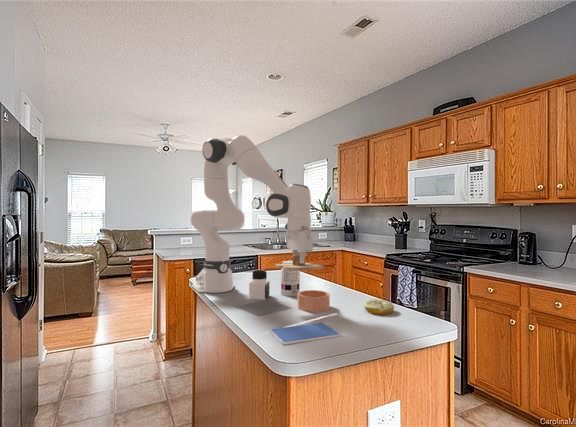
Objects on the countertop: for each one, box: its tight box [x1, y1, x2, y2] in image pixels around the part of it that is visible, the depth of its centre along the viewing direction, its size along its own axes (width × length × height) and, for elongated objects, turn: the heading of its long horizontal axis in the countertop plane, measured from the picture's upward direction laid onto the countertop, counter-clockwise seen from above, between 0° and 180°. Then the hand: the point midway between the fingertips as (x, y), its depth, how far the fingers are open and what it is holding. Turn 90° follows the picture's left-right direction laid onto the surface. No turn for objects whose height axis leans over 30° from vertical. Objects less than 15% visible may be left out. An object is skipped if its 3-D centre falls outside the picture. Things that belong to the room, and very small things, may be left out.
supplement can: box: [280, 260, 301, 297], centre depth 157 cm, size 8×8×15 cm
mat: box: [234, 299, 293, 317], centre depth 135 cm, size 16×16×1 cm
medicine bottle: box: [248, 269, 270, 301], centre depth 151 cm, size 7×7×12 cm
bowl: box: [296, 289, 331, 313], centre depth 135 cm, size 12×12×6 cm
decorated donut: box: [363, 298, 395, 316], centre depth 132 cm, size 10×11×4 cm
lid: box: [273, 254, 325, 271], centre depth 134 cm, size 14×14×4 cm
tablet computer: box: [269, 322, 342, 346], centre depth 108 cm, size 19×13×1 cm, turn 113°
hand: (298, 262), depth 134 cm, fingers closed on lid, 4 cm apart
